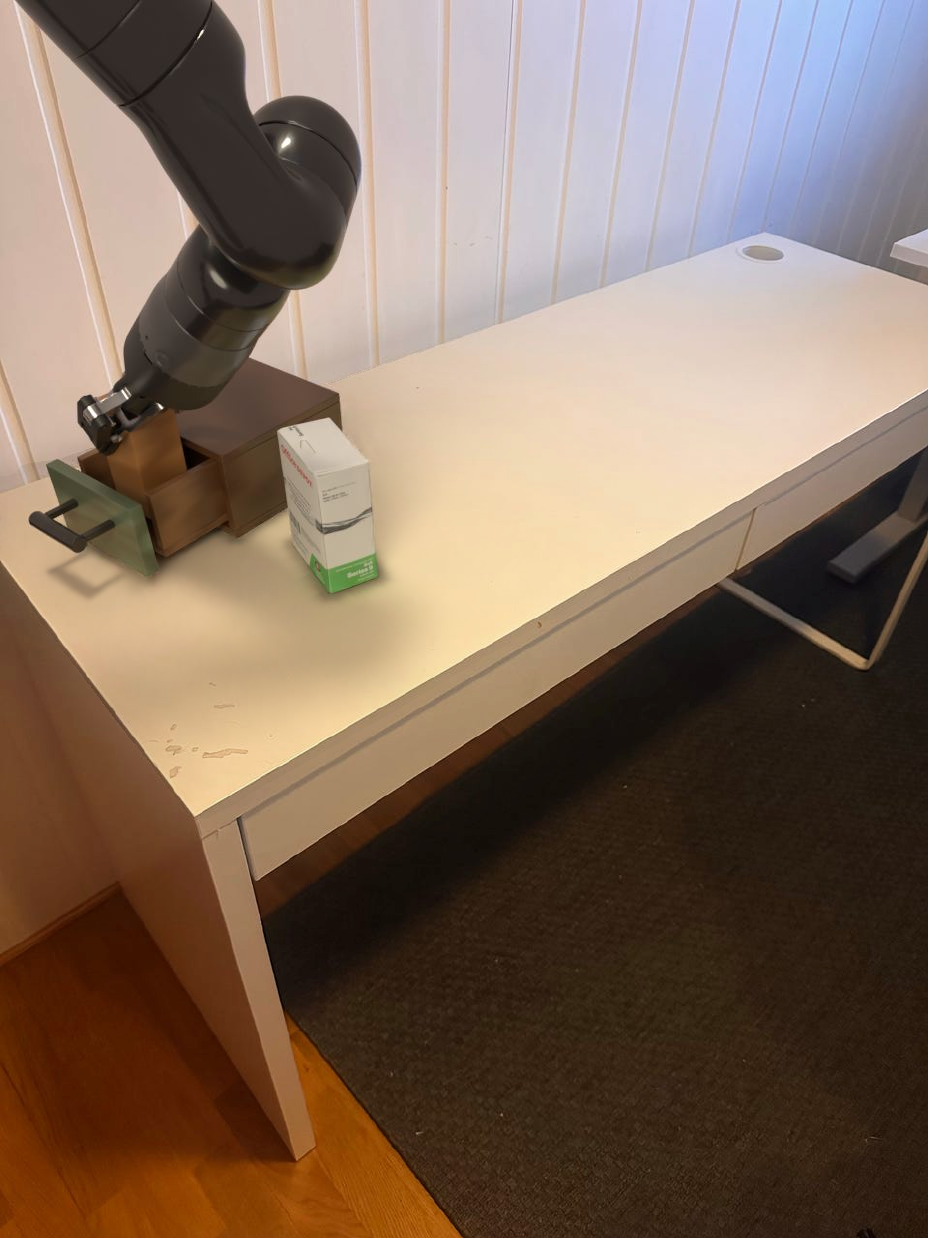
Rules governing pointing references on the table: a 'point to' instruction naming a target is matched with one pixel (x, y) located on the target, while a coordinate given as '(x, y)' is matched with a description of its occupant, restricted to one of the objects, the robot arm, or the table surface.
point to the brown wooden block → (147, 458)
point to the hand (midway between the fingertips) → (127, 433)
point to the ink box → (329, 503)
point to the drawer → (132, 510)
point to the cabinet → (254, 437)
